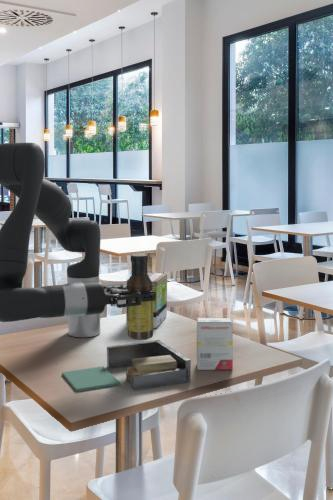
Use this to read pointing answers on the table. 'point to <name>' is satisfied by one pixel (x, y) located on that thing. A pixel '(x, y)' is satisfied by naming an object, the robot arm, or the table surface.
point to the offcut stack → (151, 365)
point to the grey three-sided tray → (128, 352)
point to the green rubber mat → (90, 378)
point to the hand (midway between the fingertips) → (149, 292)
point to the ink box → (214, 344)
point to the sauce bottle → (141, 314)
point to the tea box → (158, 297)
